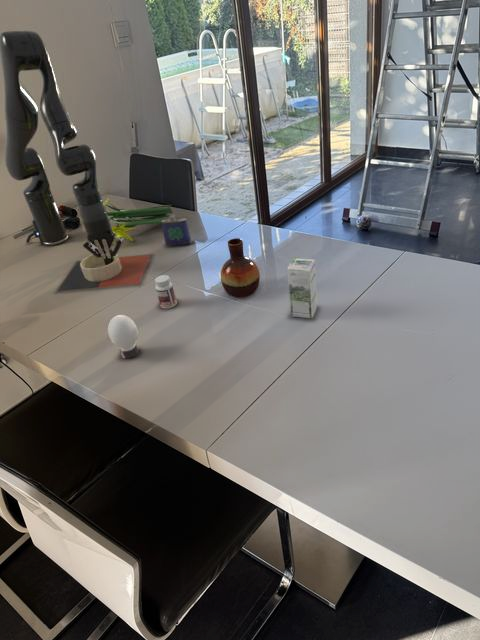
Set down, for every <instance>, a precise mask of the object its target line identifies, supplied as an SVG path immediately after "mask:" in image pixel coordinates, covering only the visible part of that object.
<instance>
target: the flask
mask: <svg viewBox="0 0 480 640" xmlns="http://www.w3.org/2000/svg"><path fill="white" fill-rule="evenodd" d="M170 218H171V219H168V220H167V219H165V220H162V221H161V223H160V225H161V228H162V233H163V237H164V238H163V239H164V242H165V245H166V247H167V248H169V247H183V246H190V245H192V242H193V240H192V237H191V231H190V228H189V222H188V219H187V218H186V217H184V218H183V217H182V218H176V214H172V215H170Z"/></svg>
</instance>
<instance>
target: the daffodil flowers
mask: <svg viewBox="0 0 480 640" xmlns="http://www.w3.org/2000/svg"><path fill="white" fill-rule="evenodd" d="M109 200H110V197H108V198H107V199H106V200H105V201H103V203H104V206H105V207H106V208H109V209H111V210H113V211H106V212H107V215H108V217H109V221H110V222H111V221H112V223H114V224H115V225H113V226H111V228H112V231H113V232H114V233H115V236H117V237H118V238H121V237H122V238H123V241H125V239H127V240H129V241H130V242H134V239H133V238H132V237H131V236H130V235H129V234H128V233H127V232H129V231H132V230H137V226H145V225H159V224H161V221H162V220H165V219H167V220H168V219H171V215H170V214H173V210H172V204H165V205H156V206H150V207H149V206H148V207H142V208H132V209H123V208H118V207H117V206H115V205H113V204H111V205H108V204H107V203H108V201H109ZM80 221H82V218H81V219H80ZM113 244H115V240H114V241H113V243H112V245H113Z"/></svg>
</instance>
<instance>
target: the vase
mask: <svg viewBox="0 0 480 640" xmlns="http://www.w3.org/2000/svg"><path fill="white" fill-rule="evenodd" d="M227 247H228V251H229V255H230V256H229V257H230V258H229V259H227V260H226V261H225V262H224V264H223V265H222V266H221V270H220V274H219V275H220V283H221V286H222V288H223V289H224V291H225V292H226V293H227V294H228V295H229V296H230V297H233V298H237V299H242V298H243V299H244V298H247V297H250V296H252V295H253V294H254V293H256V291H257V290H258V288H259V286H260V282H261V281H260V280H261V274H260V269H259V267H258V265H257V264H256V262H254V260H253V259H251V258H249V257H247V256H245V253H244V241H243V239H242V238H239V237H238V238H237V237H234V238H231V239H229V240H228V241H227Z"/></svg>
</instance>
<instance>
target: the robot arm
mask: <svg viewBox="0 0 480 640" xmlns="http://www.w3.org/2000/svg"><path fill="white" fill-rule="evenodd" d="M0 62H1V71H2V77H3V89H4V119H5V131H6V135H5V137H6V139H5V151H4V163H5V167H6V170H7V173H8V174H9V176H10V177H11V178H12V179H13V180H15V181H19V182H20V181H25V180H29V179H31V181H30V183H29V184H28V185H27V186H26V187H25V188H24V189H23V191H22V194H23V197H24V199H25V202H26V204H27V206H28V209H29V211H30V214H31V216H32V220H31V223H32V226H33V228H34V229H33V230H32V232H31V233H30V234H29V235H28V236H27V238H26V241H25V242H26V243H27V244H29V243H30V241H31V238H33V236H34V237H35V239H37V238H38V240H39V241H40V244H41V246H43V245H44V246H55V245H59V244H62V243H64V242H66V241H68V239H69V234H68V233H67V229H66V227H65V225H64V222H63V219H62V217H61V214H60V211H59V209H58V207H57V206H58V205H57V203H56V201H55V198H54V195H53V193H52V190H51V185H50V181H49V179H48V174H47V173H46V169H45V166H44V162H43V160H42V158H41V156H40V154H39V152H38V150H36V149H35V148H33V147H30V146H28V145H29V144H30V142H31V141H32V139H33V138H34V136H35V135H36V133H37V132H38V128H39V111H40V115H41V118H42V121H43V123H44V125H45V128H46V129H47V132H48V133H49V136H50V138H51V141H52V145H53V149H54V157H55V162H56V166H57V168H58V170H59V172H60V173H62V175H64V176H67V177H70V176H75V175H78V174H82V173H84V175H83V177H82V178H81V179H79V180H77V181H76V182H74V183H73V184H72V192H73V194H74V198H75V200H76V203H77V207H78V212H79V216H80V218H81V219H82V220H81V221H82V224H83V226H84V230H85V232H86V234H87V239H86V240H85V242H84V243H83V244H82V247H83V249H86V250H87V251H89V253H91V255H92V254H93V255H95V256H96V257H97V258H99V257H101V258H103V259H104V262H105V265H108V264H111V263H112V262H113V261H115V260H114V257H113V256H116V254H118V252H119V250H120V248H121V247H122V244H123V242H124V240H123V238H122V237H121V238H118V237H117V236H115V233H114V231H112V228H111V227H112V225H111V220H110V221H109V219H110V217H109V216H108V215H107V212H108V211H107V209H106V208H107V207H106V205H105V206H104V203H103V202H104V201H103V199H102V196H101V195H102V194H101V193H100V190H99V186H98V180H97V179H98V178H97V161H96V160H97V159H96V153H94V150H93V149H92V147H90V146H89V145H88V144H85V143H81V144H78V145H77V144H76V145H73V146H69V147H65V146H66V145H67V144H69V143H71V142H72V141H74V140H75V139H76V137H77V135H78V132H77V129H76V127H75V125H74V122H73V120H72V118H71V116H70V114H69V111H68V109H67V107H66V105H65V103H64V100H63V97H62V94H61V90H60V87H59V84H58V83H59V82H58V79H57V77H56V74H55V71H54V68H53V65H52V61H51V58H50V55H49V52H48V49H47V47H46V44H45V42H44V40H43V39H42V37H41V35H40V34H39V33H38V32H36V31H34V30H5V31H2V32H1V33H0ZM26 71H27V72H28V71H38V72H39V74H40V76H41V80H42V89H41V96H40V101H39V102H40V103H39V106H38V103H37V102H36V100H35V99H34V97H33V96H32V95H31V93H30V92H29V91H28V89H26V87H25V86H24V84H23V83H22V82H21V80H20V72H26ZM114 240H115V242H114V243H113V241H114ZM112 243H113V244H115V246H114V248H113V244H112Z"/></svg>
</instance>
